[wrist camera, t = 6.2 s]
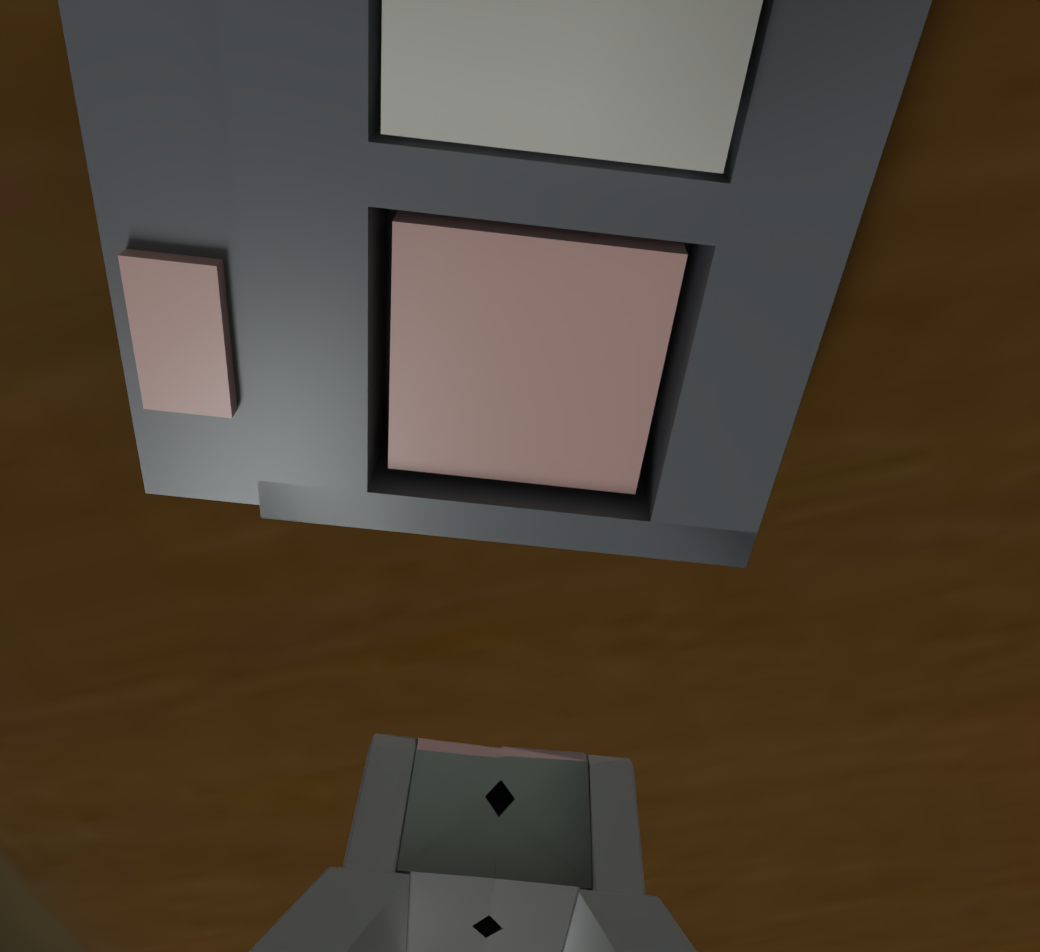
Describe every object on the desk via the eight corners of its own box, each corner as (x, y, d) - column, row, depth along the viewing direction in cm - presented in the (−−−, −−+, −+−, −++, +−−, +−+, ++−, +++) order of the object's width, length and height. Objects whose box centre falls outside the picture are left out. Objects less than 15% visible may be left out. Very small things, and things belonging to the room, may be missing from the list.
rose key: (406, 192, 19) (392, 220, 17) (676, 223, 19) (687, 254, 17) (400, 425, 22) (387, 468, 20) (629, 450, 22) (635, 494, 21)
